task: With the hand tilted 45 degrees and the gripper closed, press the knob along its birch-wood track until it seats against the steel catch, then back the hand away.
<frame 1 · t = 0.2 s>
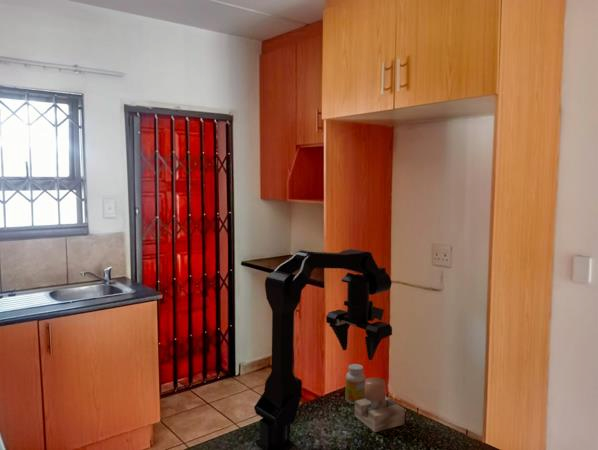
hand: (357, 354, 124), 15 cm above the countertop, tool pointing down, fingers open, 9 cm apart
supplement bottle: (354, 401, 130), on the countertop
knob: (374, 398, 118), point 6 cm above the countertop, slide at 0.0 cm
knob track: (374, 421, 119), on the countertop
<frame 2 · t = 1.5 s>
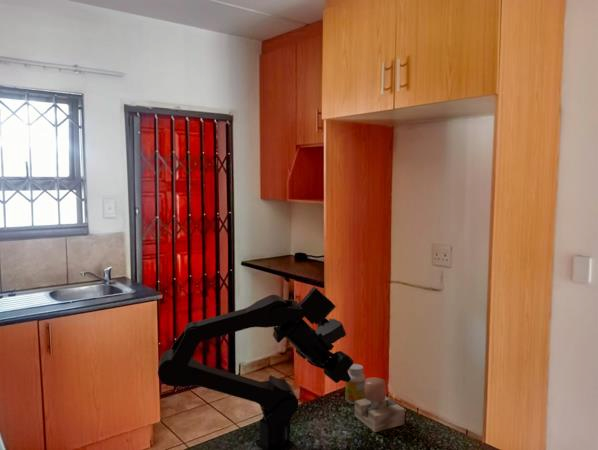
hand: (343, 376, 113), 14 cm above the countertop, tool tilted 45°, fingers open, 5 cm apart
nothing on the countertop moved.
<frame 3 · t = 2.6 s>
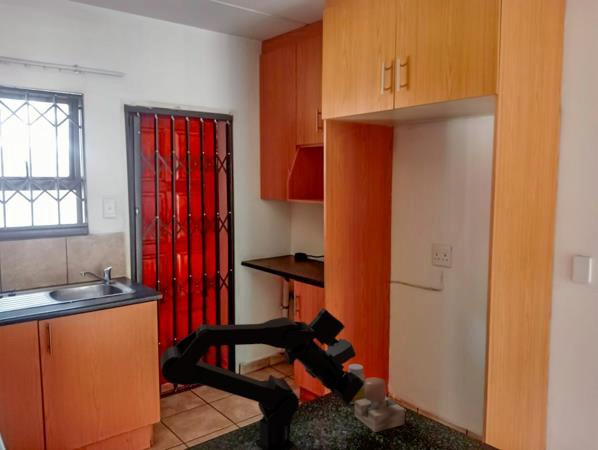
hand: (352, 395, 115), 8 cm above the countertop, tool tilted 45°, fingers closed
nothing on the countertop moved.
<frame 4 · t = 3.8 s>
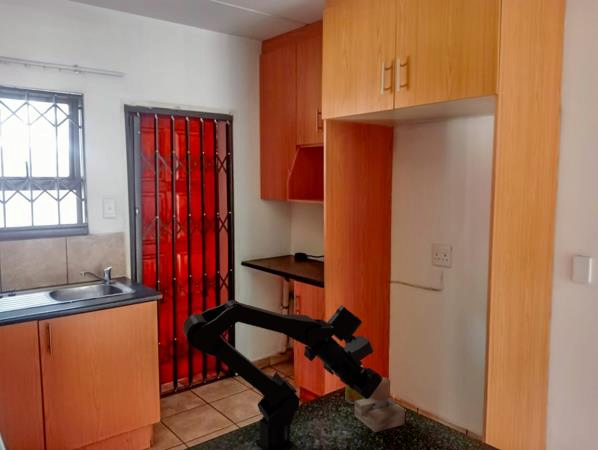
hand: (370, 390, 117), 8 cm above the countertop, tool tilted 45°, fingers closed, pressing on knob
knob: (379, 397, 119), point 6 cm above the countertop, slide at 1.5 cm, touching gripper
everything else where it was.
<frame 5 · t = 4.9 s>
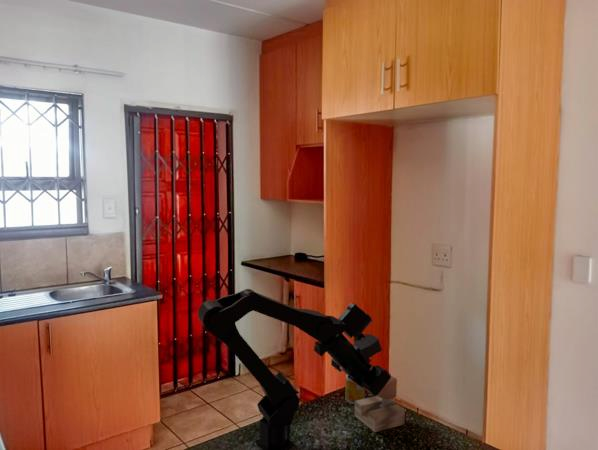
hand: (377, 389, 118), 8 cm above the countertop, tool tilted 45°, fingers closed, pressing on knob
knob: (386, 395, 120), point 6 cm above the countertop, slide at 3.5 cm, touching gripper, knob track
everything else where it was.
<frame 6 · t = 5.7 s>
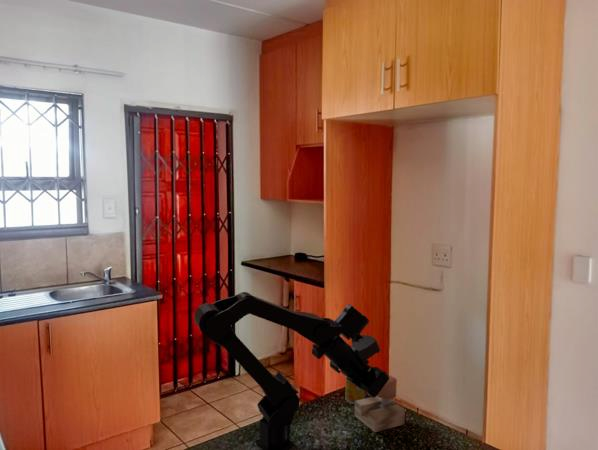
hand: (376, 389, 118), 8 cm above the countertop, tool tilted 45°, fingers closed
knob: (385, 395, 120), point 6 cm above the countertop, slide at 3.4 cm
everything else where it was.
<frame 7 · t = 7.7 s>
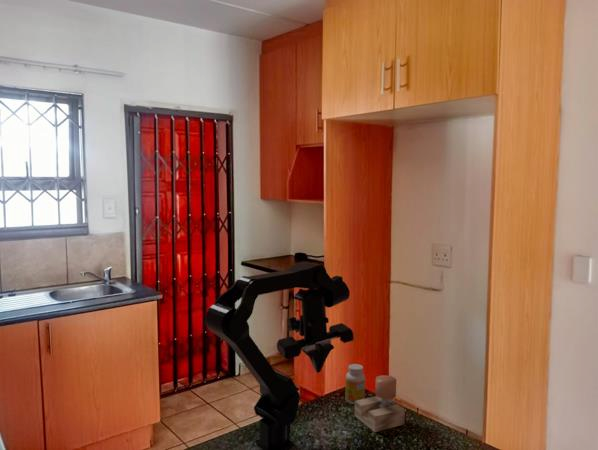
hand: (317, 371, 116), 13 cm above the countertop, tool pointing down, fingers closed
nothing on the countertop moved.
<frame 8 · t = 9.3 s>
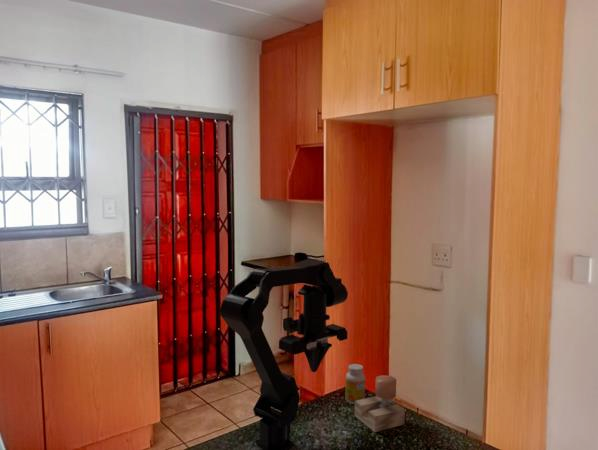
hand: (313, 371, 117), 13 cm above the countertop, tool pointing down, fingers closed
nothing on the countertop moved.
at the end: knob slide at 3.3 cm; supplement bottle moved 0.2 cm from its start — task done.
